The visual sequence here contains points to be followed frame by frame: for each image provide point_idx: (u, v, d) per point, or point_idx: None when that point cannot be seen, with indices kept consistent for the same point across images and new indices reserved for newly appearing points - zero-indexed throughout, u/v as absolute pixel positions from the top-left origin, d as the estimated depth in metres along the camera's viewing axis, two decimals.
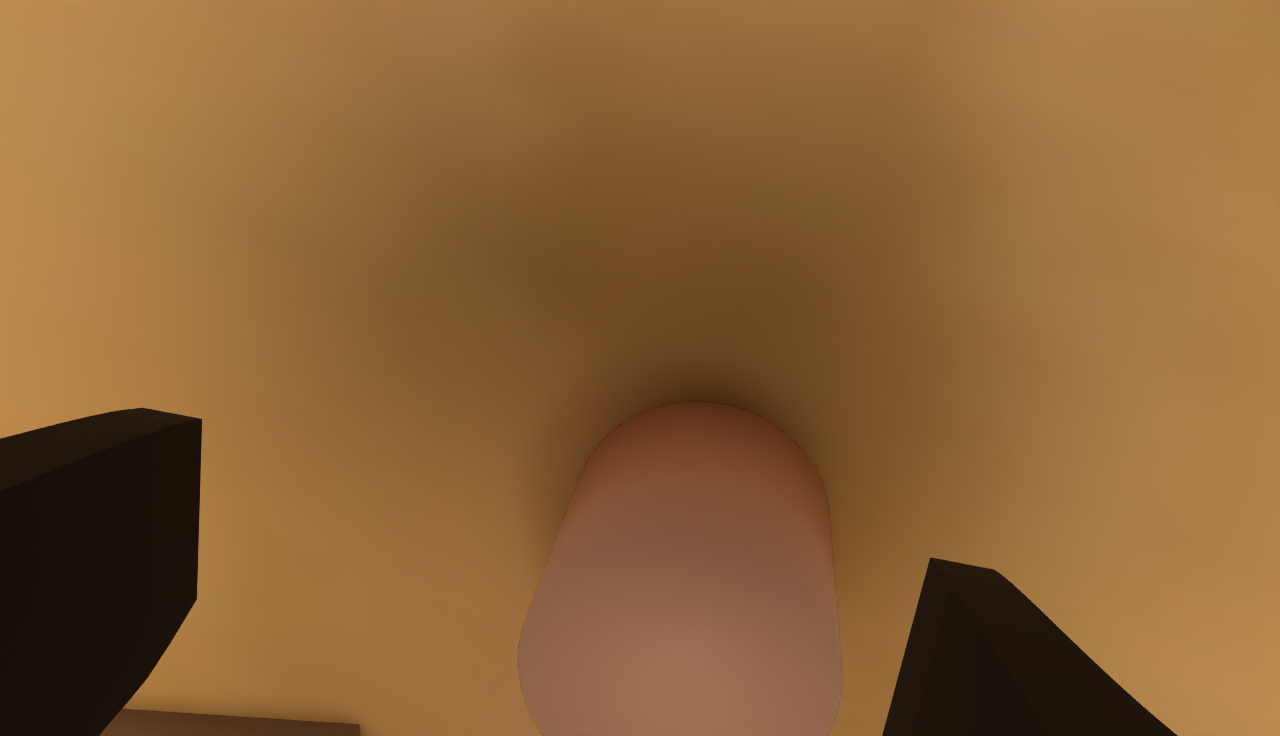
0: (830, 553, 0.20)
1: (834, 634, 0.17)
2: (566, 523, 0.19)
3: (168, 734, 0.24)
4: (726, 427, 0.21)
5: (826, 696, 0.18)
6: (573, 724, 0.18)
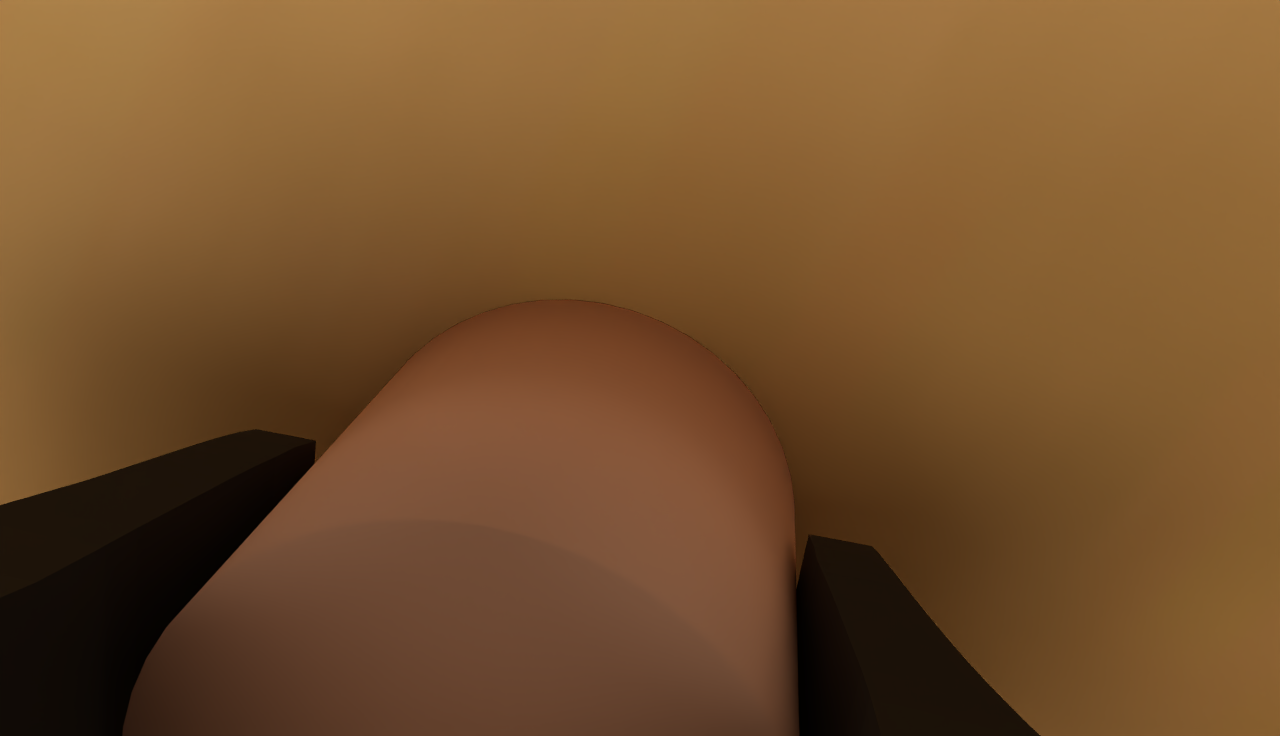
0: (479, 378, 0.10)
1: (366, 520, 0.08)
2: None
3: None
4: None
5: (521, 563, 0.08)
6: None
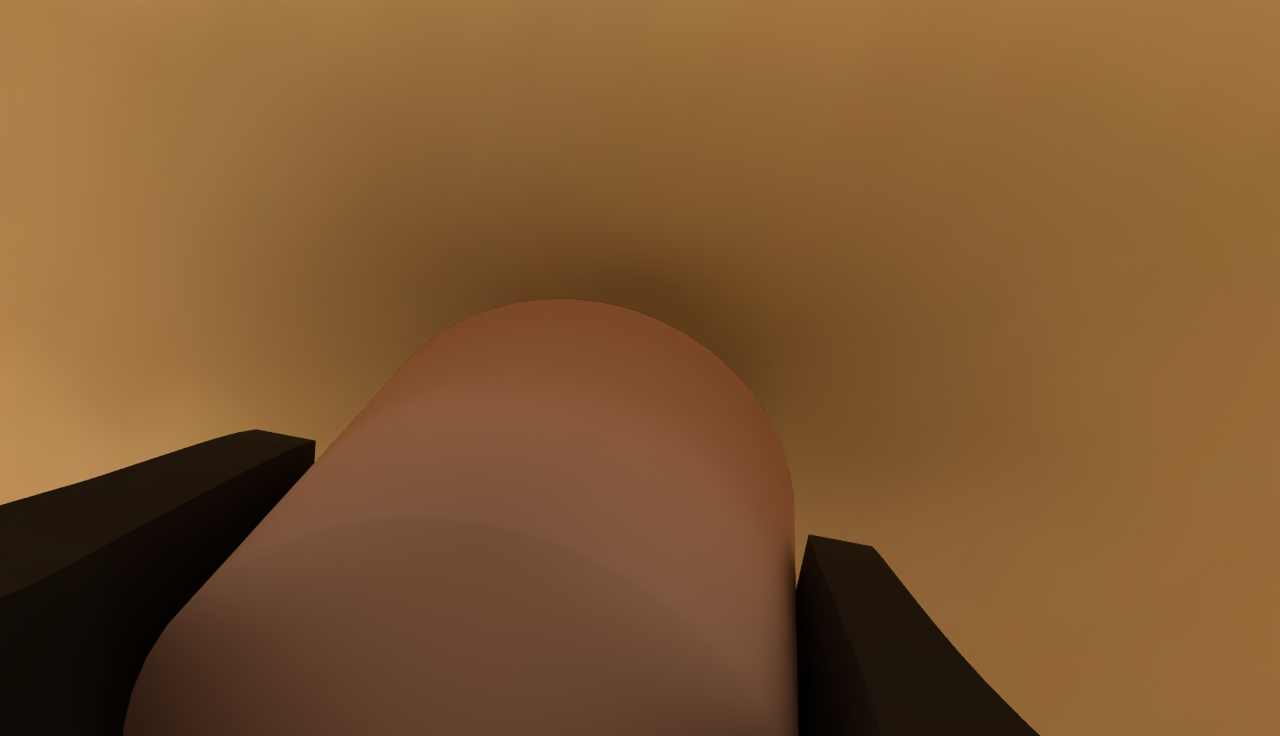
0: (479, 377, 0.10)
1: (366, 519, 0.08)
2: None
3: None
4: None
5: (520, 562, 0.08)
6: None
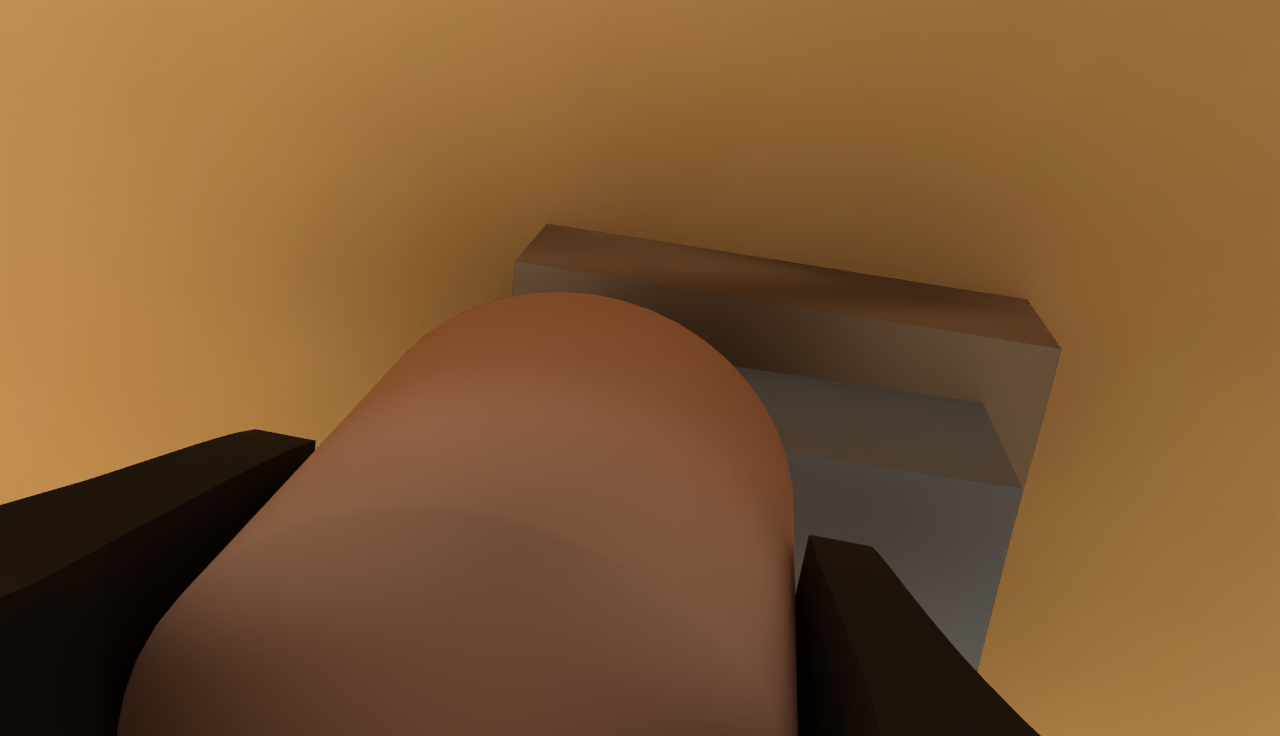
0: (465, 370, 0.10)
1: (348, 511, 0.08)
2: None
3: None
4: None
5: (503, 548, 0.08)
6: None
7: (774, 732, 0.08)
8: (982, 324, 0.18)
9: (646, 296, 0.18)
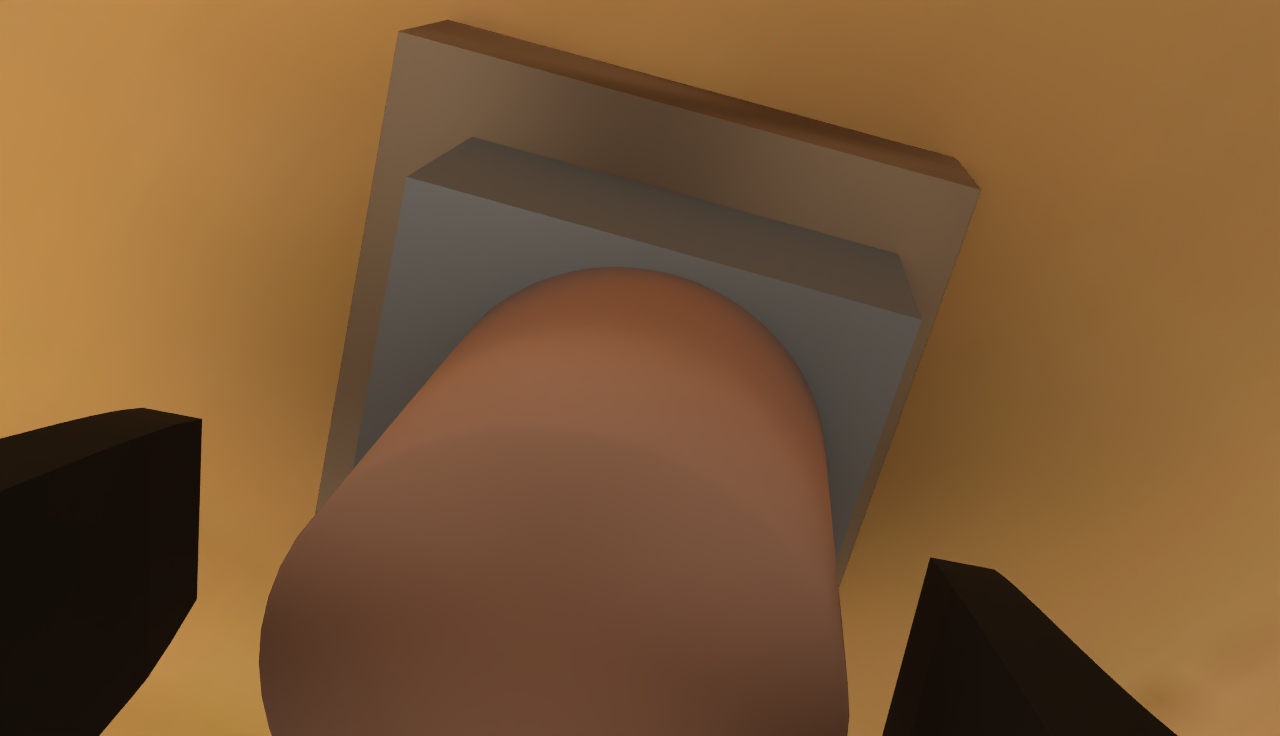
0: (541, 329, 0.11)
1: (464, 433, 0.09)
2: None
3: None
4: None
5: (597, 461, 0.09)
6: None
7: (827, 616, 0.09)
8: (900, 160, 0.16)
9: (539, 86, 0.16)
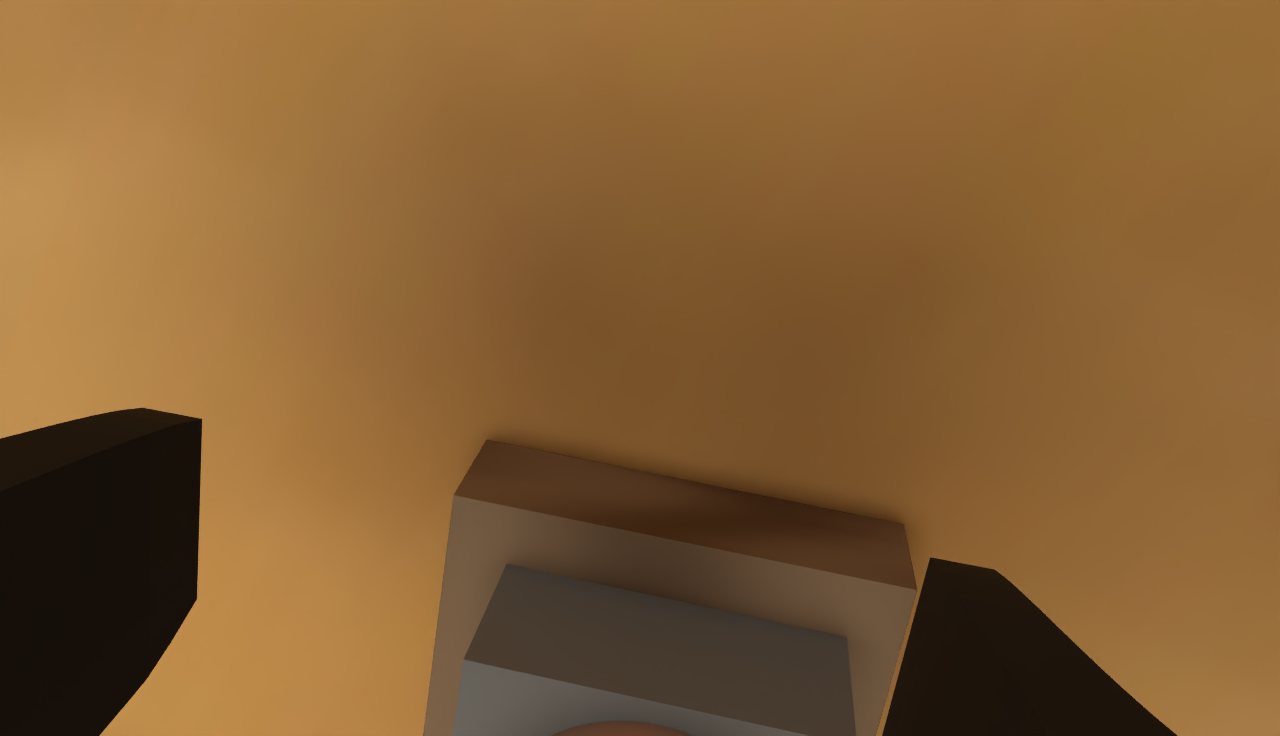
0: None
1: None
2: None
3: None
4: None
5: None
6: None
7: None
8: (853, 559, 0.21)
9: (565, 529, 0.20)
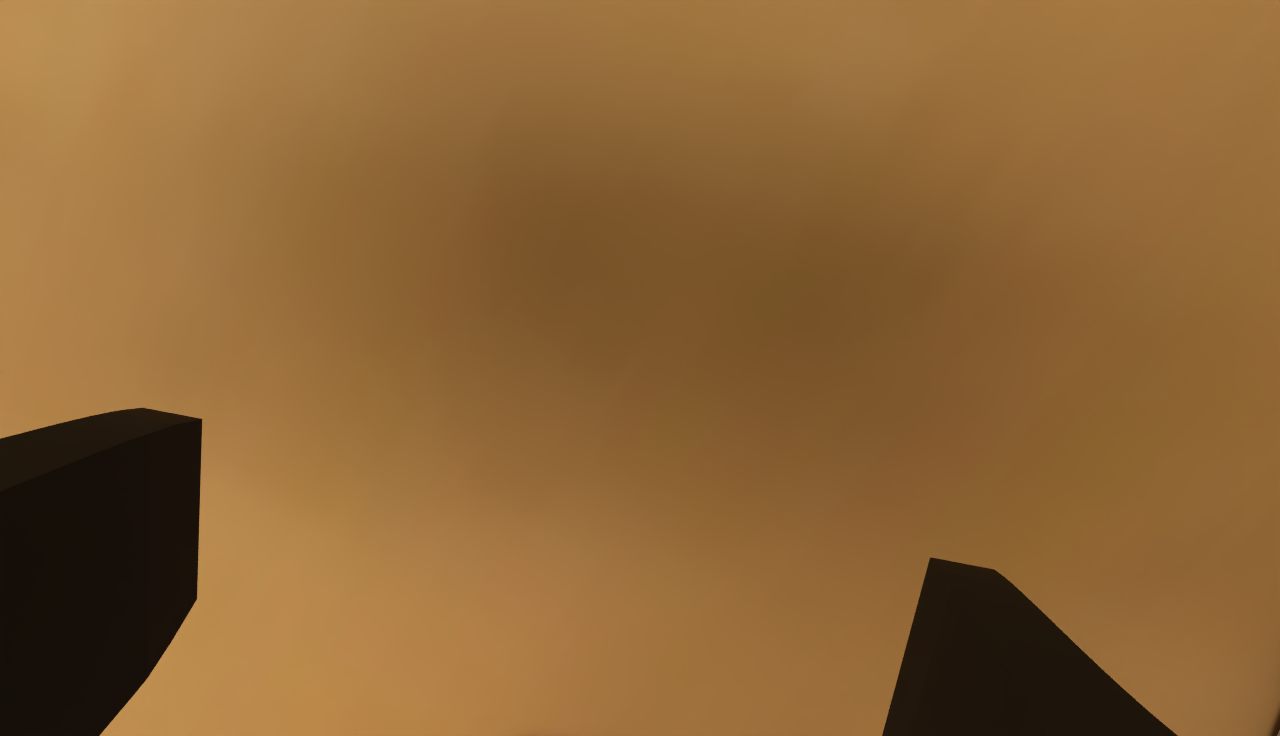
0: None
1: None
2: None
3: None
4: None
5: None
6: None
7: None
8: None
9: None
